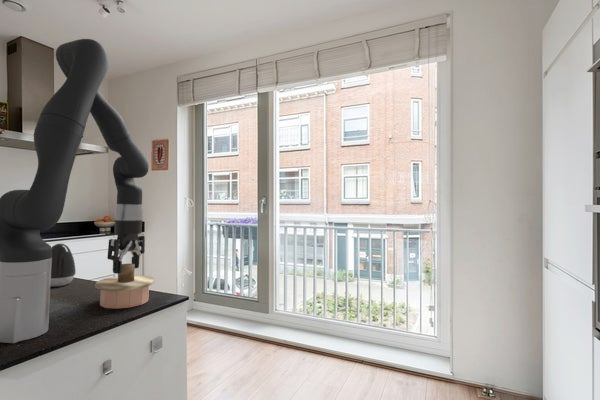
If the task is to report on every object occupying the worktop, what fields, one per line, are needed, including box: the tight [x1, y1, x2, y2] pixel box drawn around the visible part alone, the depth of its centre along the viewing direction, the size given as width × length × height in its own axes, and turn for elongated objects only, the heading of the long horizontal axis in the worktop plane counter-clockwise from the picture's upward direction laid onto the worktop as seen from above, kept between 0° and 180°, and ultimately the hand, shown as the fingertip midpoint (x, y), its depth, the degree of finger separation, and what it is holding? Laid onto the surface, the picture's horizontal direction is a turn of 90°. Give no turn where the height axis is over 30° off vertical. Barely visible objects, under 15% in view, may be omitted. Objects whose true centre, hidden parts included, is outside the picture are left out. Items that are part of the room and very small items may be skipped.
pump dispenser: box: [50, 243, 76, 288], centre depth 115 cm, size 10×10×15 cm
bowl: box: [99, 286, 150, 310], centre depth 98 cm, size 13×13×6 cm
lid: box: [94, 263, 155, 291], centre depth 98 cm, size 16×16×6 cm
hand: (126, 270), depth 98 cm, fingers open, 8 cm apart
